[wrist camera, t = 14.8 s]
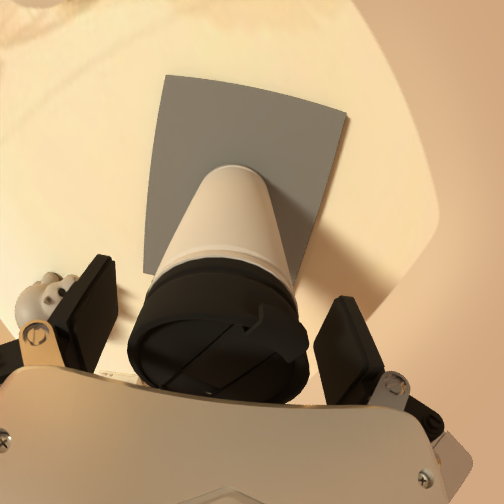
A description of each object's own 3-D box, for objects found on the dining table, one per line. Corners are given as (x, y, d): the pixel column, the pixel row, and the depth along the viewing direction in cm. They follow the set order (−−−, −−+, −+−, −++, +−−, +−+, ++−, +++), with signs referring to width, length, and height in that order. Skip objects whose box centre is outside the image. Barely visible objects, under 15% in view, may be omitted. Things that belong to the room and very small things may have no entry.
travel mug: (284, 188, 26) (360, 371, 8) (238, 240, 28) (234, 444, 10) (230, 145, 24) (187, 266, 6) (185, 201, 26) (96, 386, 9)
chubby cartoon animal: (113, 290, 32) (86, 339, 24) (60, 318, 34) (35, 360, 26) (77, 242, 29) (39, 284, 21) (29, 279, 31) (-3, 318, 23)
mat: (168, 75, 21) (165, 74, 20) (343, 112, 23) (346, 112, 23) (145, 269, 30) (143, 273, 30) (287, 293, 32) (288, 298, 32)
